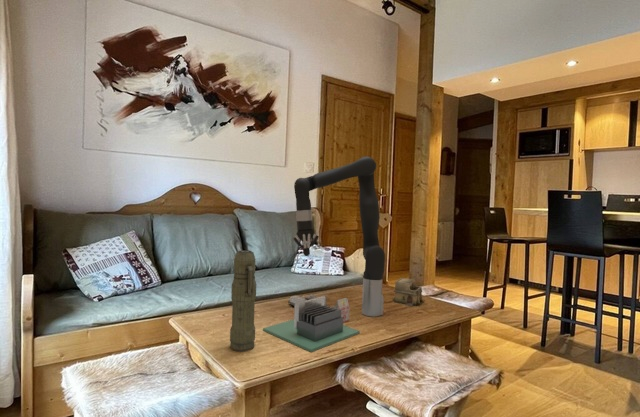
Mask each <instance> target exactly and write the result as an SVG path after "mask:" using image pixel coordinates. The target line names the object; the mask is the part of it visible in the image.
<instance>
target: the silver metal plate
mask: <svg viewBox="0 0 640 417" xmlns="http://www.w3.org/2000/svg"><path fill="white" fill-rule="evenodd" d="M317 297H318V298H314V299H310V300H307V301H305V309H304V311H305V310H309V309H313V308H316V307H320V306H323V305H327V295H322V296H317ZM295 306H296V304H295ZM295 306H294V307H295ZM293 311H294V314H293V316H294V317H293V319H294V329H296V330H297V321H296V320H295V308H294V310H293Z"/></svg>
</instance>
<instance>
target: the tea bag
mask: <svg viewBox="0 0 640 417" xmlns="http://www.w3.org/2000/svg"><path fill="white" fill-rule="evenodd" d="M333 307H334V309H335V308H338V310H340V309H341V317H343V323H346V322H348V321H350V304H349V302H348V298H347V297H344V298H341V299H337V300H336V301H335V304H334V306H333Z"/></svg>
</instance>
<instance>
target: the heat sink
mask: <svg viewBox="0 0 640 417" xmlns="http://www.w3.org/2000/svg"><path fill="white" fill-rule="evenodd" d="M289 298H290V299H289V300H290V302H292V303H295V304H296V306H294V309H295V320H296V321H297V330H296V329H294V318H293V319H290V320H288V321H283V322H279V323H275V324H273V325H269V326H266V327H263V328H262V331H263V332H266V333H268V334H270V335H272V336H274V337H276V338H279V339H281V340H282V341H285V342H287V343H289V344H291V345H294V346H296V347H299V348H301V349H303V350H305V351H307V352H310V353H313V352H315V351H319V350H320V349H323V348H326V347H329V346H331V345H333V344H336V343H338V342H341V341H344V340H346V339H349V338H351V337H355V336H357V335H358V334H360V332H361V331H360V330H359V329H358V330H357V329H355V328H352V327H350V326H347V325H344V322H343V317H341V309H340V310H338V308H335V309H334V306H332V307H331V306H330V305H327V304H326V305H323V306H320V307H316V308H313V309H309V310H305V311H304V309H305V298H306V297H302V296H299V295H292V296H290V297H289Z"/></svg>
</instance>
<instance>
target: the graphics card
mask: <svg viewBox="0 0 640 417" xmlns="http://www.w3.org/2000/svg"><path fill="white" fill-rule="evenodd" d="M318 297H319V296H318V295H314V294H311V293H310V294H309V296H307V297H304V298H305V301H307V300H310V299H314V298H318ZM287 301H288V302H287V303H288V304H289V305H291V306H294V307H295V303H292V302H290V299H289V300H287Z"/></svg>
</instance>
